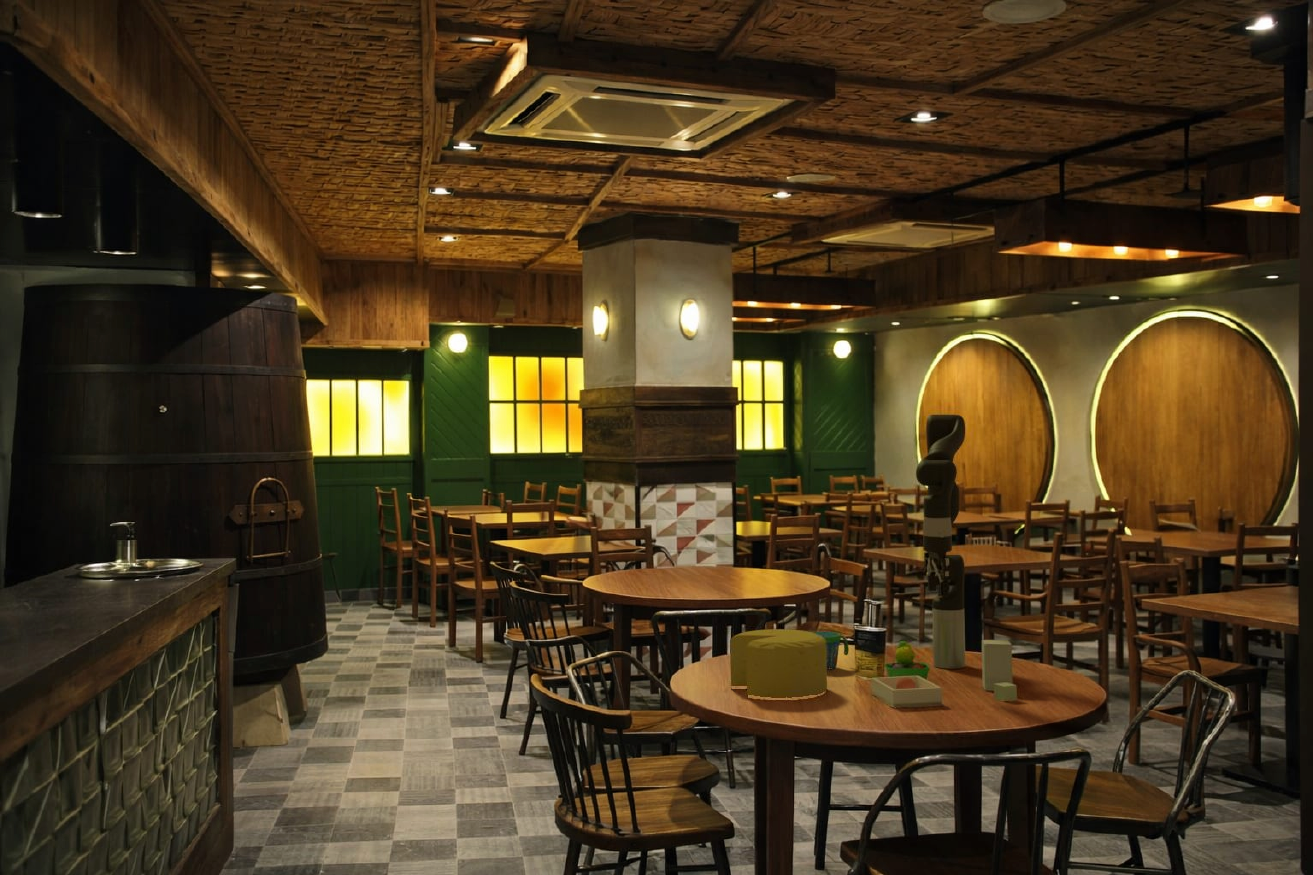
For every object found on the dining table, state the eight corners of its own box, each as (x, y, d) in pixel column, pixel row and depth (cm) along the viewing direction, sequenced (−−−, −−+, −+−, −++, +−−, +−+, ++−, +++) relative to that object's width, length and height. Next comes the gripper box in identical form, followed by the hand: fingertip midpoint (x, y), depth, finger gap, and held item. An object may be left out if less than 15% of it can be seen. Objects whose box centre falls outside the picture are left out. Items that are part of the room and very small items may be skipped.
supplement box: (1013, 691, 302) (1012, 644, 302) (984, 690, 303) (983, 643, 304) (1010, 685, 309) (1009, 639, 309) (982, 685, 311) (981, 639, 311)
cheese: (715, 696, 303) (713, 640, 303) (753, 677, 326) (752, 625, 326) (807, 704, 291) (806, 646, 291) (840, 685, 314) (839, 631, 314)
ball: (893, 694, 296) (892, 675, 296) (911, 693, 297) (911, 674, 297) (900, 698, 291) (899, 679, 291) (918, 697, 292) (918, 678, 292)
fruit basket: (888, 686, 311) (888, 645, 311) (883, 680, 320) (883, 640, 320) (930, 686, 310) (930, 645, 310) (924, 679, 319) (923, 639, 319)
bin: (871, 694, 301) (871, 677, 301) (918, 692, 303) (917, 675, 303) (893, 708, 285) (892, 690, 285) (942, 705, 287) (941, 687, 287)
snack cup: (803, 672, 332) (802, 637, 332) (793, 666, 342) (792, 632, 342) (854, 670, 334) (853, 635, 334) (843, 663, 345) (842, 630, 345)
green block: (994, 699, 294) (993, 683, 294) (1006, 697, 295) (1006, 682, 296) (1004, 702, 290) (1004, 686, 290) (1016, 700, 292) (1016, 685, 292)
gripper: (914, 531, 313) (915, 589, 314) (933, 537, 299) (934, 598, 299) (940, 530, 314) (941, 588, 315) (961, 536, 300) (961, 597, 300)
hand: (938, 593), depth 307 cm, fingers open, 8 cm apart
